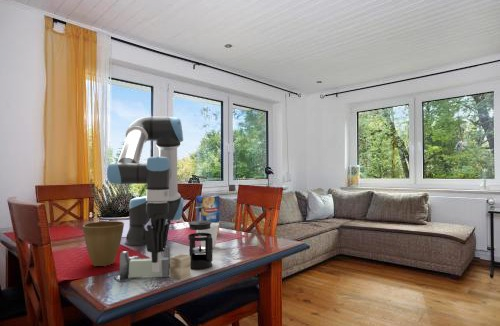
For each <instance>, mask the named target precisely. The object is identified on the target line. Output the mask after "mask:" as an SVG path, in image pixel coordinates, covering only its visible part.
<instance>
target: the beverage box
mask: <svg viewBox="0 0 500 326" xmlns="http://www.w3.org/2000/svg"><path fill="white" fill-rule="evenodd" d="M195 199H196V200H195V202H196V207H205V208H203V209H201V221H210V222H212V223H218V224H219V225H218V231H217V236H219V235H220V196H219V195H213V194H210V195H197V196H196V198H195ZM195 209H196V208H195ZM195 218H196V220H195V221H200V212H199V209H196V216H195ZM195 231H196V232H195V233H200V230H195Z"/></svg>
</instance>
